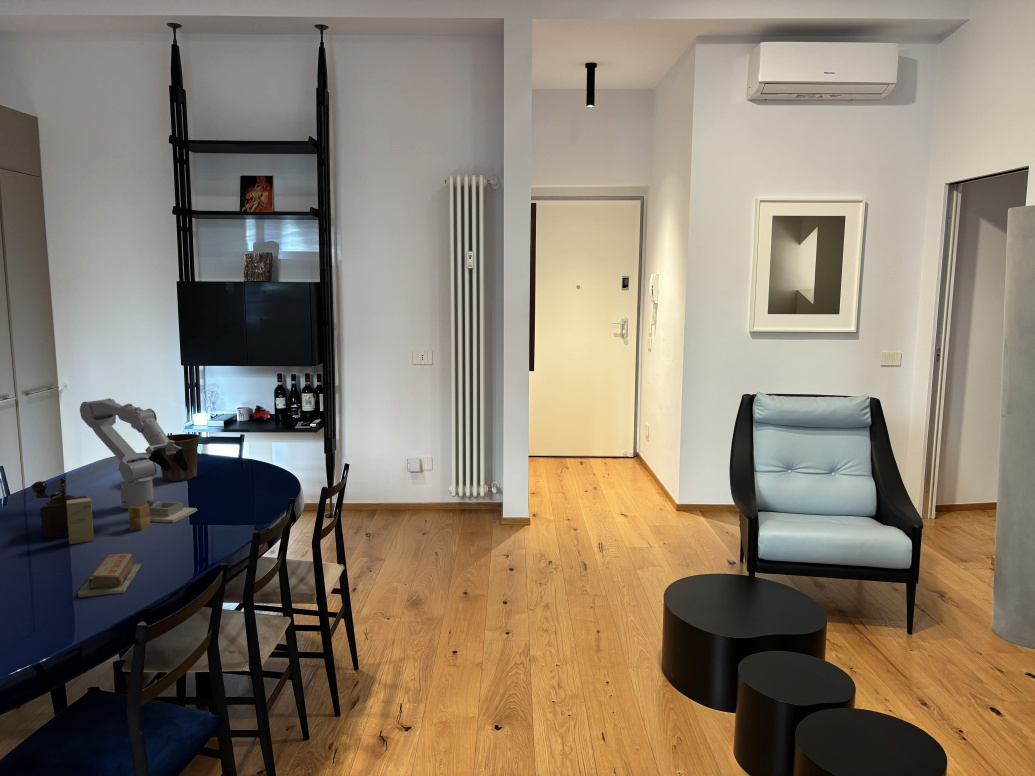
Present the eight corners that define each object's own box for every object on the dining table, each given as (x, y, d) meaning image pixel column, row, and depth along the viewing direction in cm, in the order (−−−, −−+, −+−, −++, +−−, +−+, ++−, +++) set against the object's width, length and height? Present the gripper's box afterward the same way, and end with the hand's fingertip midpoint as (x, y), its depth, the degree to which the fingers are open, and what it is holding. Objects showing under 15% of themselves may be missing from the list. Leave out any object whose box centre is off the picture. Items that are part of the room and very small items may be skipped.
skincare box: (69, 544, 204) (65, 503, 202) (69, 540, 208) (65, 500, 206) (94, 540, 207) (91, 500, 205) (94, 536, 211) (90, 496, 209)
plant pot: (149, 478, 276) (146, 437, 274) (191, 470, 288) (188, 431, 286) (167, 486, 265) (164, 443, 263) (209, 477, 277) (207, 437, 275)
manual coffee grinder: (48, 528, 218) (43, 471, 216) (89, 524, 222) (84, 468, 220) (34, 544, 204) (28, 484, 201) (78, 540, 208) (73, 480, 205)
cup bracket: (133, 520, 225) (132, 505, 225) (159, 508, 237) (158, 494, 236) (173, 522, 223) (172, 507, 222) (197, 511, 235) (196, 496, 234)
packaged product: (98, 553, 185) (140, 549, 188) (99, 571, 186) (141, 567, 188) (76, 579, 168) (122, 575, 171) (77, 599, 169) (124, 594, 171)
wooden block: (129, 529, 217) (128, 507, 216) (139, 525, 221) (137, 503, 220) (141, 530, 216) (139, 508, 215) (150, 526, 220) (148, 504, 219)
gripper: (147, 429, 225) (170, 460, 221) (181, 431, 238) (202, 461, 235) (133, 444, 225) (155, 476, 222) (167, 446, 239) (188, 476, 236)
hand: (178, 469), depth 228 cm, fingers open, 7 cm apart
